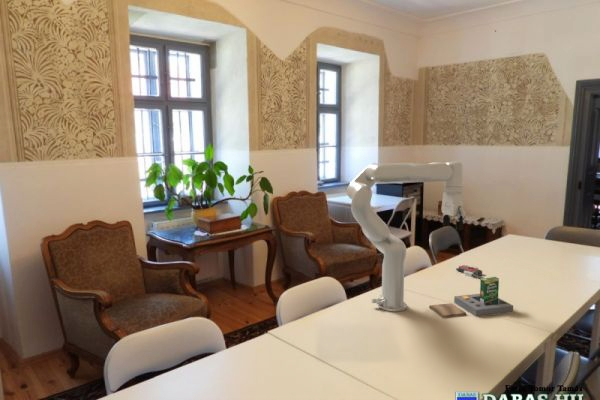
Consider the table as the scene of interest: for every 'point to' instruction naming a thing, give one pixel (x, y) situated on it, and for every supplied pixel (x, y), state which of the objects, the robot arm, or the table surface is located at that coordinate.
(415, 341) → the table surface
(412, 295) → the table surface
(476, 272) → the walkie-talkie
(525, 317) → the table surface
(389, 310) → the robot arm
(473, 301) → the toy stove front
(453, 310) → the walnut pad
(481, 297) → the coffee box
